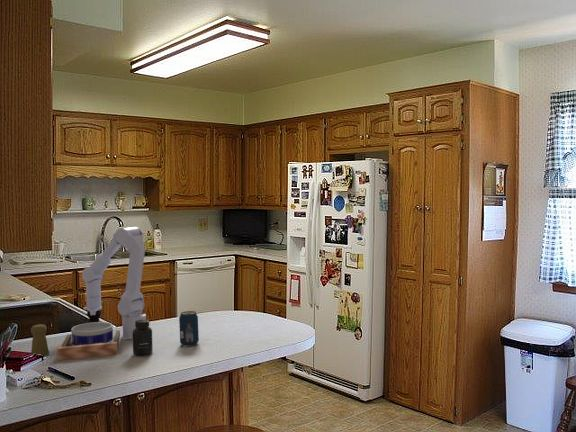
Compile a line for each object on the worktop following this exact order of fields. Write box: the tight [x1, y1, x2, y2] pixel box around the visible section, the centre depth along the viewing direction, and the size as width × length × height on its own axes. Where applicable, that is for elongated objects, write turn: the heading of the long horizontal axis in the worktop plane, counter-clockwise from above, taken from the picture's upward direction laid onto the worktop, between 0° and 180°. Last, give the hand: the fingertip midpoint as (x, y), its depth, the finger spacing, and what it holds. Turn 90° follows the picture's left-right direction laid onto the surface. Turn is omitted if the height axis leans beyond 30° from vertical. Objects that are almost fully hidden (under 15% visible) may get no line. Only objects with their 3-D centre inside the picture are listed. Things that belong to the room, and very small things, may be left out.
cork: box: [30, 323, 50, 356], centre depth 199 cm, size 6×6×11 cm
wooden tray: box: [56, 329, 121, 361], centre depth 208 cm, size 20×28×4 cm
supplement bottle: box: [132, 319, 154, 357], centre depth 196 cm, size 7×7×12 cm
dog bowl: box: [70, 321, 114, 346], centre depth 216 cm, size 15×15×6 cm
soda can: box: [178, 310, 200, 347], centre depth 208 cm, size 7×7×12 cm
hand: (95, 328), depth 228 cm, fingers closed
